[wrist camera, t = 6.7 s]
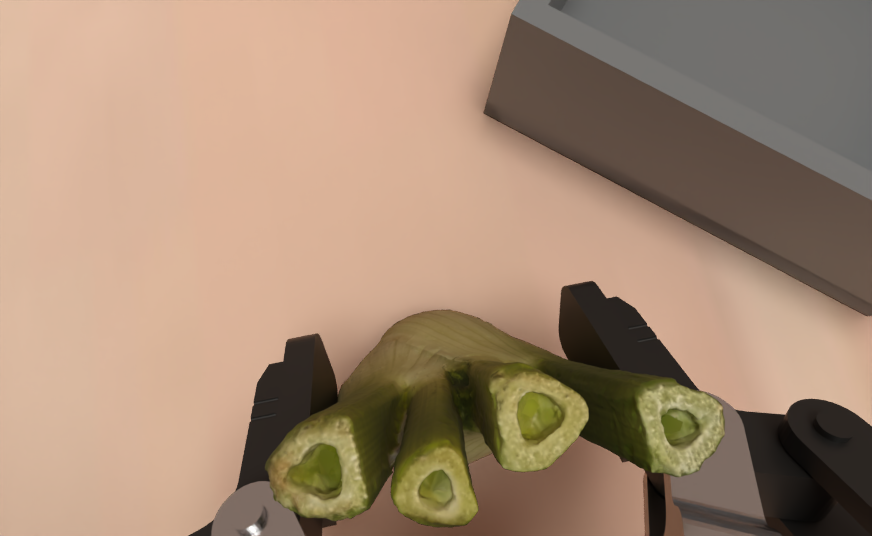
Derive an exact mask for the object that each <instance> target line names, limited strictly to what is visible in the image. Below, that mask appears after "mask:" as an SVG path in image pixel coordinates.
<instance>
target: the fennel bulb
mask: <svg viewBox="0 0 872 536" xmlns="http://www.w3.org/2000/svg"><path fill="white" fill-rule="evenodd" d="M724 435H725V419H724V415H723V406H722V404H721V403H720V402H719V401H718V400H716V399H715V398H713V397H712V396H710V395H709V394H707V393H706V392H703V391H697V390H694V389H689V388H688V387H685V386H682V385H680V384H678V383H677V382H676V380H675V379H673V378H668V377H659V376H655V375H648V374H636V373H631V372H628V371H622V370H608V369H604V368H599V367H595V366H591V365H586V364H583V363H578V362H574V361H570V360H567V359H563V358H561V357H559V356H556V355H554V354H552V353H550V352H549V351H546V350H544V349H542V348H539V347H537V346H534V345H532V344H530V343H527V342H525V341H522V340H520V339H517V338H514V337H512V336H510V335H508V334H506V333H505V332H503V331H501V330H499V329H497V328H496V327H494V326H493V325H492V324H490V323H488V322H484V321H483V320H481V319H480V318H477V317H474V316H472V315H468V314H464V313H461V312H457V311H452V310H433V311H427V312H421V313H419V314H414V315H412V316H409V317H407V318H405V319H403V320H401V321H399V322H397V323H395V324H394V325H393V326H392V327H391V328H390V329H388V330H387V332H386V333H385V334H384V335H383V337H382V338H381V340H380V342H379V343H378V345H377V346H376V347H375V348H374V349H373V350H372V351H370V353H369V354H368V355H367V356H366V357H365V358H364V359H363V361H362V362H361V363H360V364H359V366H358V367H357V368H356V369H355V370H354V372H353V373H352V374H351V376H350V377H349V378H348V379H347V380H346V381H345V382H344V384H343V385H342V386H341V389H340V391H339V394H338V403H336V404H334V405H332V406H331V407H329V408H327V409H325V410H323V411H320V412H318V413H316V414H313V415H311V416H310V417H309V418H307V419H306V420H304V421H302V422H300V423H299V424H297V425H296V426H295V427H294V428H293V429H292V430H291V431H290V432H288V433H287V435H286V436H285V438H284V439H283V441H282V442H281V443H280V444H279V445H278V447H277V448H276V449H275V450H274V451H273V453H272V454H271V455H270V457H269V458H268V460H267V461H266V464H265V470H266V471H267V472H268V474H269V480H270V488H271V489H272V491H273V498H274V500H275V501H277V502H278V503H280V504H281V505H282V506H283V507H284V508H288V509H289V510H290V511H293V512H295V513H297V514H298V515H300V516H301V517H305V518H326V519H330V520H332V521H338V520H343V519H346V518H349V519H351V518H353V517H355V516H356V515H358V514H361V513H362V512H364V511H366V510H368V509H369V508H370V507H371V505H372V504H373V502H374V501H375V499H376V497H377V496H378V494H379V492H380V491H381V489H382V487H383V485H384V483H385V482H386V481H387V479H388V478H389V476H390V475H391V474H392V473H393V472H392V469H393V467H394V473H393V477H392V482H391V498H392V500H393V503H394V505H395V506H396V507H397V508H398V511H399V512H400V513H401V514H403V515H404V516H405V517H407V518H410V519H411V520H413V521H416V522H417V523H419V524H423V525H427V526H432V527H456V526H464V525H467V524H468V523H469V522H470V521H471V520H472V518H473V517H474V516H475V515H476V513H477V512H478V503H477V500H476V495H475V493H474V489H473V486H472V481H471V476H470V472H469V467H468V464H469V463H471V462H473V461H476V460H478V459H480V458H483V457H486V456H488V455H490V454H492V453H493V454H494V456H495V458H496V459H497V461H498V462H499V464H500V465H502V467H503V468H504V469H507V470H511V471H515V472H528V471H538V470H543V469H546V468H548V467H549V466H551V465H552V464H553V463H554V462H555V461H556V460H557V459H558V458H559V457H560V456H561V455H562V454H563V453H564V452H565V451H566V450H567V449H568V448H569V447H570V445H571V444H572V443H574V442H575V441H576V439H577V438H578V436H581V437H582V438H584V439H586V440H588V441H590V442H592V443H594V444H597V445H599V446H601V447H603V448H605V449H607V450H609V451H611V452H613V453H614V454H616V455H618V456H620V457H622V458H624V459H626V460H628V461H630V462H632V463H633V464H635V465H636V466H638V467H639V468H643V469H644V470H646V471H648V472H651V473H664V474H667V475H671V476H674V477H682V476H686V475H690V474H692V473H695V472H698V471H699V470H700V468H701V466H702V464H703V462H704V461H705V460H706V459H707V458H709V457H711V456H712V455H713V454H714V453H715V452H716V450H717V447H718V445H719V444H720V442H721V440H722V438H723V437H724Z"/></svg>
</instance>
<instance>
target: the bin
mask: <svg viewBox="0 0 872 536" xmlns="http://www.w3.org/2000/svg"><path fill="white" fill-rule="evenodd" d="M484 113H485V114H486V115H488V116H490V117H492V118H494V119H496V120H498V121H500V122H502V123H503V124H505V125H507V126H509V127H511V128H513V129H515V130H517V131H519V132H520V133H522V134H524V135H526V136H528V137H530V138H532V139H534V140H536V141H537V142H539V143H541V144H543V145H545V146H547V147H549V148H551V149H553V150H554V151H556V152H558V153H560V154H562V155H564V156H566V157H568V158H570V159H571V160H573V161H575V162H577V163H579V164H581V165H583V166H585V167H587V168H588V169H590V170H592V171H594V172H596V173H598V174H600V175H602V176H604V177H605V178H607V179H609V180H611V181H613V182H615V183H617V184H619V185H621V186H622V187H624V188H626V189H628V190H630V191H632V192H634V193H636V194H638V195H639V196H641V197H643V198H645V199H647V200H649V201H651V202H653V203H655V204H656V205H658V206H660V207H662V208H664V209H666V210H668V211H670V212H672V213H673V214H675V215H677V216H679V217H681V218H683V219H685V220H687V221H689V222H690V223H692V224H694V225H696V226H698V227H700V228H702V229H704V230H706V231H707V232H709V233H711V234H713V235H715V236H717V237H719V238H721V239H723V240H724V241H726V242H728V243H730V244H732V245H734V246H736V247H738V248H740V249H741V250H743V251H745V252H747V253H749V254H751V255H753V256H755V257H757V258H758V259H760V260H762V261H764V262H766V263H768V264H770V265H772V266H773V267H775V268H777V269H779V270H781V271H783V272H785V273H787V274H789V275H790V276H792V277H794V278H796V279H798V280H800V281H802V282H804V283H806V284H807V285H809V286H811V287H813V288H815V289H817V290H819V291H821V292H823V293H824V294H826V295H828V296H830V297H832V298H834V299H836V300H838V301H840V302H841V303H843V304H845V305H847V306H849V307H851V308H853V309H855V310H857V311H858V312H860V313H862V314H864V315H866V316H872V0H519V2H518V3H517V5H516V7H515V9H514V10H513V12H512V14H511V17H510V21H509V24H508V28H507V31H506V35H505V39H504V42H503V46H502V49H501V53H500V56H499V60H498V64H497V67H496V71H495V74H494V78H493V81H492V85H491V89H490V92H489V96H488V99H487V103H486V106H485V110H484Z"/></svg>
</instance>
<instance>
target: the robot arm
mask: <svg viewBox="0 0 872 536" xmlns="http://www.w3.org/2000/svg"><path fill="white" fill-rule="evenodd" d="M559 337H560V342H561V345H562V348H563V351H564V353H565V355H566V356H567V358H568V360H570V361H574V362H578V363H583V364H586V365H591V366H595V367H599V368H604V369H608V370H622V371H628V372H631V373H636V374H648V375H655V376H659V377H668V378H673V379H675V380H676V382H677V383H678V384H680V385H682V386H685V387H688V388H689V389H694V390H697V391H700V390H699V389H698V388H697V387H696V386H695V385H694V383H693V382H692V381H691V380H690V378H689V377H688V376H687V374H686V373H685V372H684V371H683V369H682V368H681V367H680V365H679V364H678V363H677V362H676V360H675V359H674V358H673V356H672V355H671V354H670V353H669V351H668V350H667V349H666V347H665V346H664V345H663V344H662V342H661V341H660V340H659V339H657V336H656V335H655V333H654V332H653V331H652V329H651V328H650V327H648V326H647V323H646V322H645V320H644V319H643V318H642V317H641V315H640V314H639V313H638V312H637V310H636V309H635V308H634V307H632V306H631V305H629V304H628V303H626V302H625V301H623V300H621V299H620V298H618V297H612V298H606V297H605V295H604V294H603V293H602V291H601V290H600V289H599V287H598V286H597V284H596V283H595V282H593V281H589V282H583V283H578V284H573V285H568V286H564V287H563V288H562V290H561V301H560V315H559ZM706 393H707V392H706ZM707 394H709V395H710V396H712V397H713V398H715V399H716V400H718V401H719V402H720V403H721V404H722V406H723V415H724V419H725V435H724V437H723V438H722V440H721V442H720V444H719V445H718V447H717V450H716V452H715V453H714V454H713V455H712V456H711V457H709V458H707V459H706V460H705V461H704V462H703V464H702V466H701V468H700V470H699V471H698V472H695V473H692V474H690V475H686V476H682V477H674V476H671V475H667V474H664V473H651V472H648V471H646V470H645V473H644V477H643V493H644V523H645V536H872V426H870V425H869V424H868V423H867V422H865V421H864V420H863V419H862V418H860V417H859V416H858V415H856V414H855V413H853V412H852V411H850V410H848V409H846V408H844V407H842V406H840V405H837V404H835V403H832V402H828V401H825V400H819V399H804V400H800V401H797V402H795V403H794V404H793V405H791V407H790V408H789V410H788V411H787V413H786V415H781V414H769V413H757V412H746V411H739V410H735V409H734V408H733V407H732V406H731V405H729V404H728V403H727V402H725V401H724V400H722V399H721V398H719V397H717V396H715V395H713V394H710V393H707ZM336 403H338V392H337V384H336V379H335V375H334V372H333V369H332V366H331V364H330V361H329V358H328V356H327V353H326V350H325V348H324V345H323V342H322V340H321V337H320V335H319V334H312V335H307V336H302V337H297V338H292V339H288V340H287V342H286V347H285V354H284V361H283V362H279V363H274V364H269V365H268V367H267V369H266V370H265V372H264V373H263V375H262V376H261V378H260V379H259V381H258V383H257V387H256V393H255V398H254V406H253V408H252V414H251V422H250V424H249V429H248V435H247V440H246V445H245V450H244V455H243V461H242V466H241V471H240V476H239V482H238V485H237V489H236V491H235V492H234V493H233V494H232V495H231V496H230V497H229V498H228V499H227V500H226V501H225V502H224V503H223V504H222V506H221V507H220V509H219V510H218V512H217V514H216V516H215V519H214V520H213V521H212V522H210V523H209V524H208V525H206V526H205V527H203V528H201V529H200V530H198V531H196V532H194V533H193V534H191V535H189V536H322V528H324V527H328V526H333V525H336V521H332V520H330V519H326V518H305V517H301V516H300V515H298V514H297V513H295V512H293V511H290V510H289V509H288V508H284V507H283V506H282V505H281V504H280V503H278V502H277V501H275V500H274V498H273V491H272V489H271V488H270V480H269V474H268V472H267V471H266V470H265V464H266V461H267V460H268V458H269V457H270V455H271V454H272V453H273V451H274V450H275V449H276V448H277V447H278V445H279V444H280V443H281V442H282V441H283V439H284V438H285V436H286V435H287V433H288V432H290V431H291V430H292V429H293V428H294V427H295V426H296V425H297V424H299V423H300V422H302V421H304V420H306V419H307V418H309V417H310V416H311V415H313V414H316V413H318V412H320V411H323V410H325V409H327V408H329V407H331V406H332V405H334V404H336ZM619 457H620V456H619ZM620 459H621V461H622V462H627V461H628V460H626V459H624V458H622V457H620Z"/></svg>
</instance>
